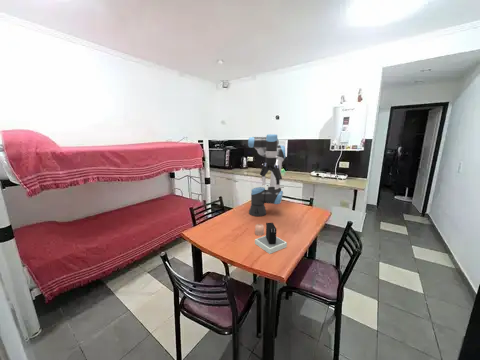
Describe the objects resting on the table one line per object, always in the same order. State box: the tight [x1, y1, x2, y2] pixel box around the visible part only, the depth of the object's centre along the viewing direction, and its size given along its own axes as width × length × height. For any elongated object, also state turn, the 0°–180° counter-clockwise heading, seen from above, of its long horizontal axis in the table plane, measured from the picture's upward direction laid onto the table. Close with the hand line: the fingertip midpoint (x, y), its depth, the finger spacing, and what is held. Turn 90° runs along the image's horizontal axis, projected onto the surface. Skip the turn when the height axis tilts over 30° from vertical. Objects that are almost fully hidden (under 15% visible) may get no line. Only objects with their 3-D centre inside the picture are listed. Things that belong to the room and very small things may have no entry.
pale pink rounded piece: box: [254, 223, 265, 237], centre depth 141 cm, size 6×6×6 cm
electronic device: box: [265, 222, 277, 244], centre depth 124 cm, size 4×10×10 cm, turn 5°
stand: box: [254, 235, 288, 255], centre depth 126 cm, size 14×14×3 cm
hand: (269, 187), depth 143 cm, fingers open, 13 cm apart
